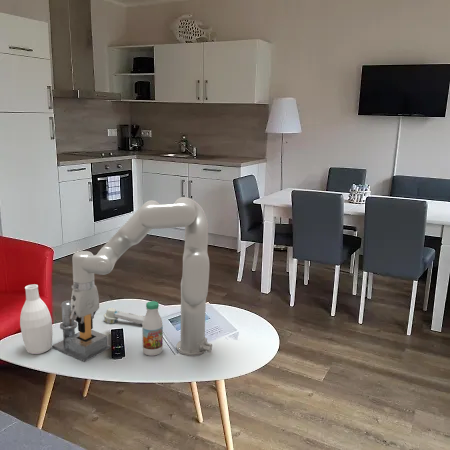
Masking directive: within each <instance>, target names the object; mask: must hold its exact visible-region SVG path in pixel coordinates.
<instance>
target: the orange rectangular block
mask: <svg viewBox="0 0 450 450" xmlns="http://www.w3.org/2000/svg"><path fill="white" fill-rule="evenodd" d="M84 323H85V333H82V332H80V331H79V332H80V338H82V339H85V340H86V339H88V338H90V337H91V330H92V329H91V314H89V315H86V316H84Z"/></svg>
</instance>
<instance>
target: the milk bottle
mask: <svg viewBox="0 0 450 450" xmlns="http://www.w3.org/2000/svg"><path fill="white" fill-rule="evenodd" d="M159 306H160V304H159V302H158V301H156V300H155V301H154V300H151V301H148V302H146V303H145V309H146V313H145V315H144V316H145V317H144V320H143V324H141V325H142V330H141V332H142V334H141V335H142V336H141V339H142V340H141V341H142V346H141V347H142V353H143V354H144V355H146V356H149V357H152V356H158V355H160V354H162V352H163V349H164V348H163V346H164V344H163V343H164V342H163V341H164V339H163V338H164V335H163V334H164V333H163V331H164V330H163V329H164V328H163V326H164V325H163V320H162V317H161V315H160V312H159Z"/></svg>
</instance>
